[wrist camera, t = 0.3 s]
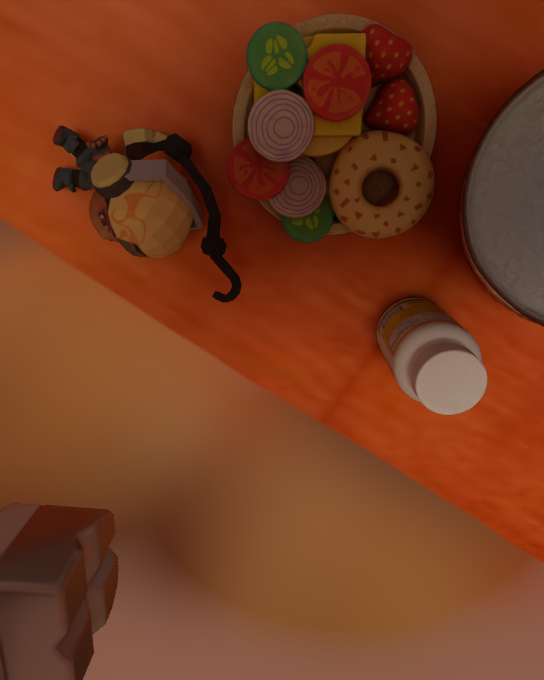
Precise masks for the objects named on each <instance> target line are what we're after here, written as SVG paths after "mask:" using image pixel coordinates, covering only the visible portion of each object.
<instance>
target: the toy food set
mask: <svg viewBox="0 0 544 680" xmlns="http://www.w3.org/2000/svg"><path fill="white" fill-rule="evenodd" d="M246 57H247V65H248V68H249V70H248V72H247V73H246V75H245V77H244V79H243V81H242V84H241V86H240V89H239V92H238V95H237V98H236V102H235V107H234V112H233V122H232V137H233V146H234V148H233V150H232V151H231V153H230V155H229V158H228V163H227V173H228V177H229V180H230V183H231V185H232V186H233V188H234V189H235V190H236V191H237V192H238V193H239V194H241V195H242V196H244V197H246V198H248V199H251V200H258V201H259V202H260V204H261V205H262V206H263V207H264V208H265V209H266V210H267V211H269V212H270V213H271V214H272V215H274V216H275V217H276V218H278V219H279V220H281V223H282V226H283V228H284V230H285V231H286V233H287V234H288V235H289V236H290V237H291V238H293V239H294V240H296V241H299V242H303V243H311V242H315V241H318V240H319V239H321V238H323V237H324V236H325V235H326V234H327V235H333V234H344V233H349V232H354V233H356V234H358V235H360V236H363V237H367V238H375V239H379V238H388V237H392V236H396V235H398V234H401V233H403V232H405V231H407V230H408V229H410V228H411V227H413V226H414V225H415V224H416V223H417V222H418V221H419V220H420V219H421V218H422V217H423V215H424V214H425V213H426V211H427V209H428V207H429V205H430V203H431V200H432V198H433V194H434V189H435V174H434V169H433V166H432V163H431V161H430V156H431V153H432V150H433V146H434V141H435V135H436V126H437V113H436V104H435V98H434V93H433V89H432V86H431V83H430V80H429V77H428V75H427V73H426V70H425V69H424V67H423V65H422V63H421V61H420V60H419V58H418V57H417V55H416V54H415V53H414V52H413V50H412V47H411V45H410V44H409V43H408V42H407V41H405V40H404V39H402V38H400V37H399V36H398V35H397V34H396V33H394V32H393V31H391V30H390V29H388V28H387V27H385V26H383V25H382V24H380V23H377V22H375V21H373V20H370V19H367V18H364V17H361V16H356V15H346V14H331V15H323V16H318V17H315V18H311V19H308V20H305V21H303V22H301V23H298V24H296V25H294V26H290V25H289V24H286V23H283V22H272V23H268V24H265V25H264V26H262V27H261V28H259V29H258V30H257V32H256V33H255V34H254V35H253V37H252V38H251V40H250V42H249V45H248V48H247V56H246Z"/></svg>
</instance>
